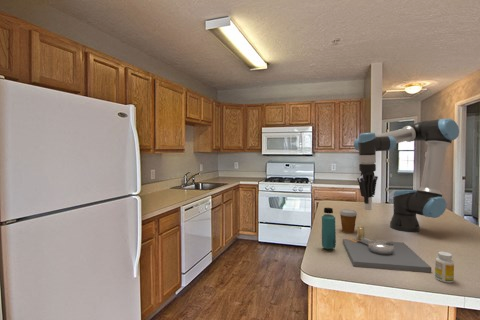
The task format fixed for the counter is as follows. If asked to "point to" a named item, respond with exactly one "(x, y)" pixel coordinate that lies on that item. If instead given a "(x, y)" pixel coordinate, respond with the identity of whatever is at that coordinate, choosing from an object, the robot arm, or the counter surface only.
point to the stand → (385, 257)
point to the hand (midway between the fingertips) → (368, 209)
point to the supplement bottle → (444, 267)
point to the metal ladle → (375, 243)
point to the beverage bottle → (328, 229)
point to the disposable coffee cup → (348, 220)
